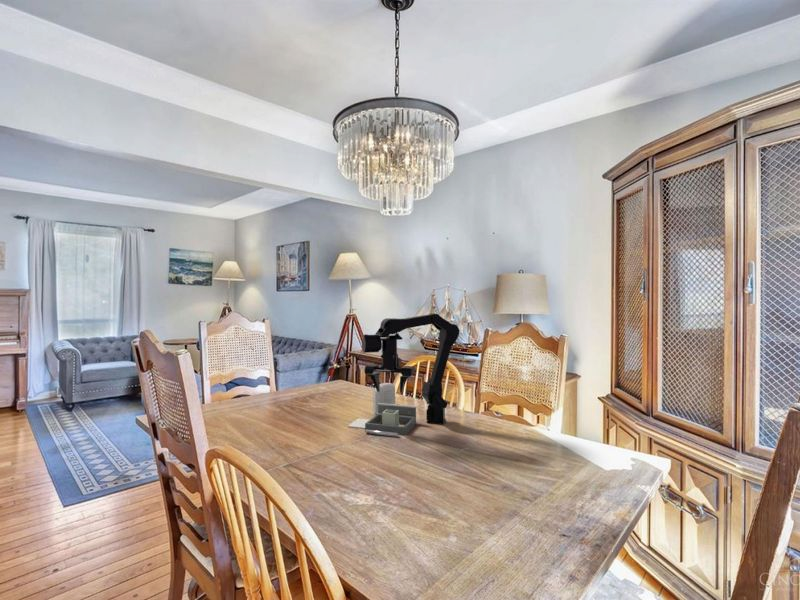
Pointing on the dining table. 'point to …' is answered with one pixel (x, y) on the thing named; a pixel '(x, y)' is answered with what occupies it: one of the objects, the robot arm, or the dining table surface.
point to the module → (390, 417)
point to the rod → (382, 433)
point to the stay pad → (359, 423)
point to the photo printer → (384, 395)
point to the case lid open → (403, 409)
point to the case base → (389, 428)
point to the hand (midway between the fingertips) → (389, 392)
